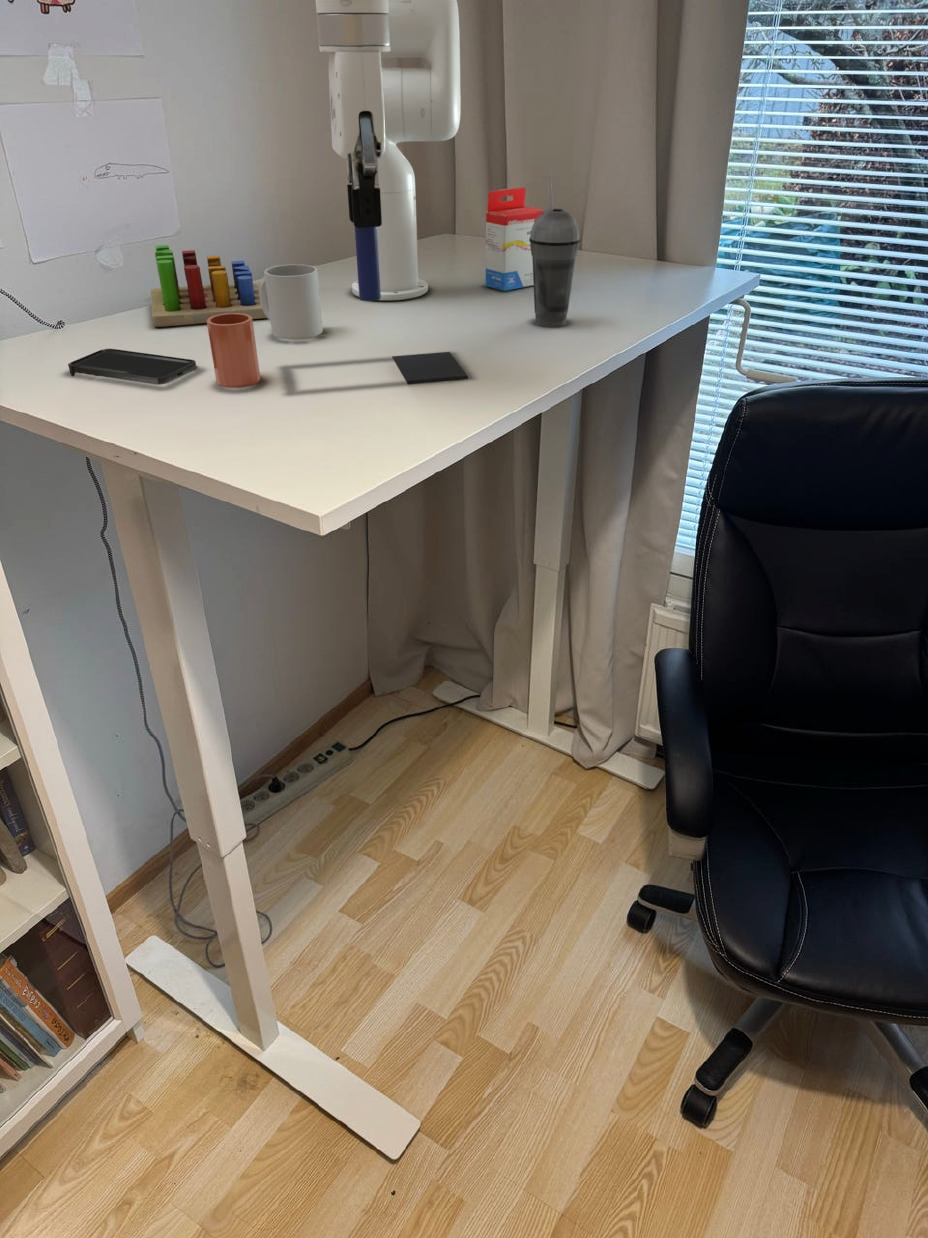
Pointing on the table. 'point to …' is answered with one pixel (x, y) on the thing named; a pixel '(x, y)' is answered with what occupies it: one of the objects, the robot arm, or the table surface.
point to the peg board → (201, 291)
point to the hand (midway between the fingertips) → (365, 222)
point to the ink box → (509, 240)
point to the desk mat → (429, 367)
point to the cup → (292, 301)
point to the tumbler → (233, 349)
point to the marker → (367, 262)
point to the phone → (132, 366)
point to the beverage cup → (553, 263)
